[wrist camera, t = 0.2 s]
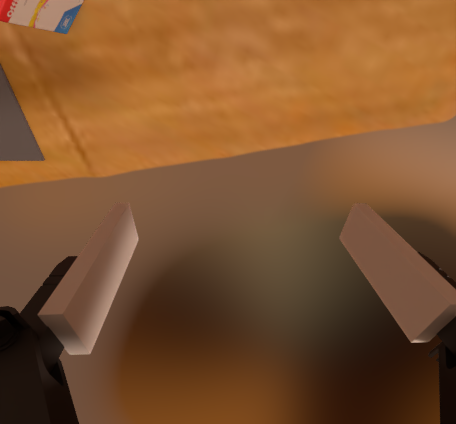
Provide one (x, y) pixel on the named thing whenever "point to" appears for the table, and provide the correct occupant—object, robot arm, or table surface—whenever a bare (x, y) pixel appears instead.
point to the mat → (15, 128)
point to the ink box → (41, 13)
